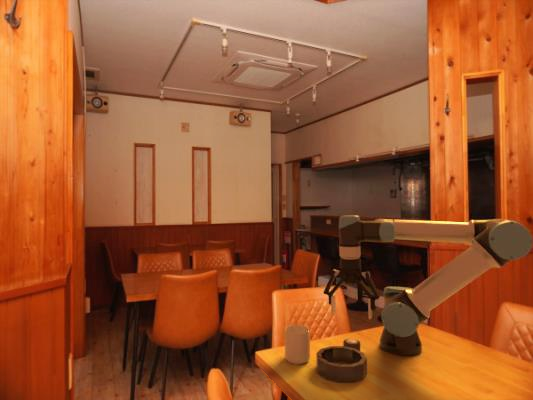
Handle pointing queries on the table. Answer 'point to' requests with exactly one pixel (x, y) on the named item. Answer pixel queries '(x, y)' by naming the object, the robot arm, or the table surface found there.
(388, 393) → the table surface
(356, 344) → the brown short cylinder
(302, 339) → the mug
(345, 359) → the brown ring
